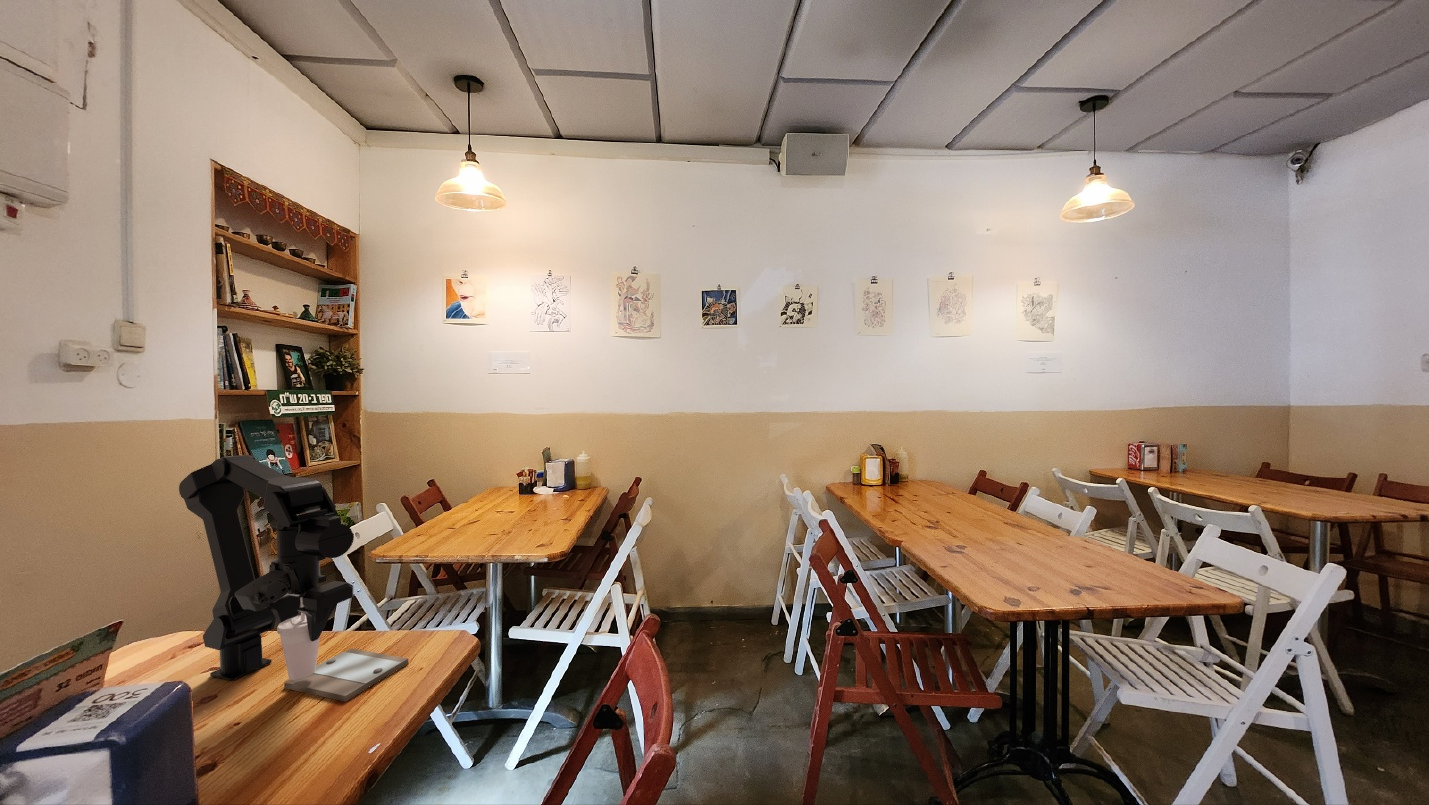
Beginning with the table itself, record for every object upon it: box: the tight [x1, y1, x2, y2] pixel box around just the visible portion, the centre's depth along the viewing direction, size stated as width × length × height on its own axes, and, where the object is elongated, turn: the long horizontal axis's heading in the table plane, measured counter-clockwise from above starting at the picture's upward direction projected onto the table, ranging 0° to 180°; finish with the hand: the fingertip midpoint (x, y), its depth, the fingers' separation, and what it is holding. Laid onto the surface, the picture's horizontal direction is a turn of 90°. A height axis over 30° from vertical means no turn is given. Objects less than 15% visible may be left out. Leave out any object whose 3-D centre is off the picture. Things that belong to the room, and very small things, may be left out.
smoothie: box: [276, 597, 321, 680], centre depth 87 cm, size 6×6×14 cm
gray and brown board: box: [283, 648, 409, 702], centre depth 90 cm, size 15×12×1 cm
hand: (301, 637), depth 87 cm, fingers closed on smoothie, 6 cm apart
